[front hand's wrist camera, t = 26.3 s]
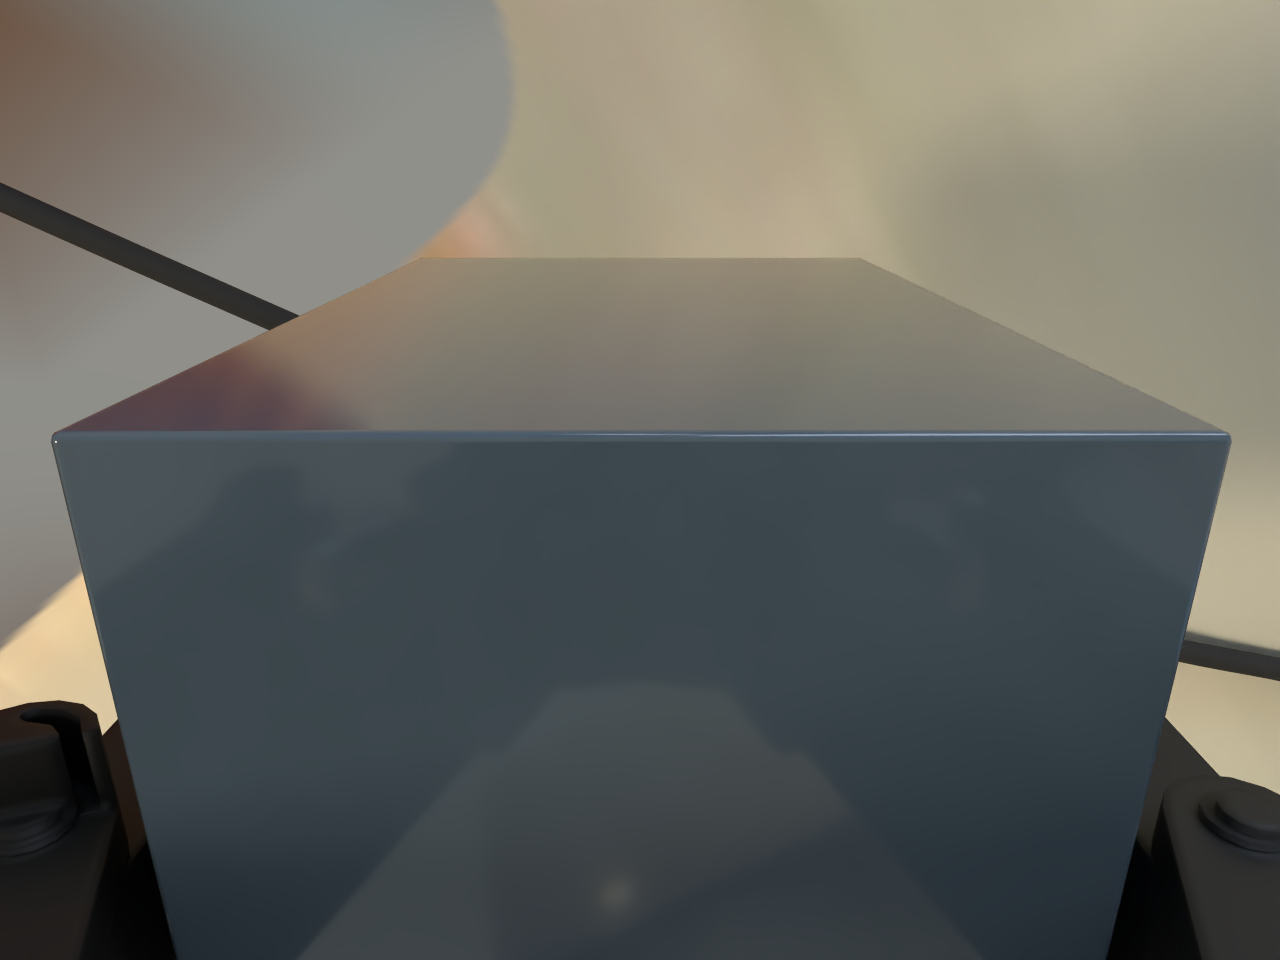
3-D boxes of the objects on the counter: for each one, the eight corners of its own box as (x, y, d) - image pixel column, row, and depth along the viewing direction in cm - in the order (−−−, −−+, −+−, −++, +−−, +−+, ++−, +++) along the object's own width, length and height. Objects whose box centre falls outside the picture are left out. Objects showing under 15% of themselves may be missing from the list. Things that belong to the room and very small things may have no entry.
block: (460, 744, 17) (270, 1362, 8) (419, 257, 14) (45, 432, 5) (822, 744, 17) (1011, 1363, 8) (863, 257, 14) (1238, 433, 5)
